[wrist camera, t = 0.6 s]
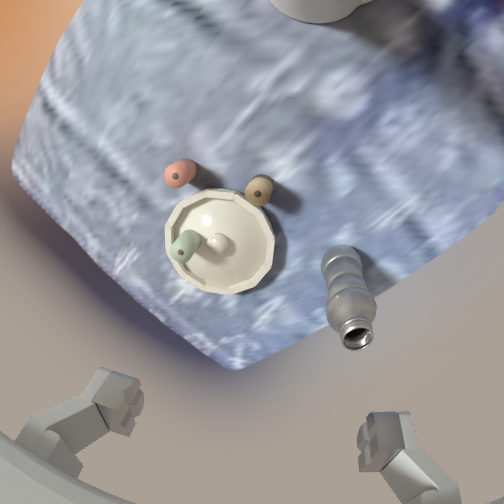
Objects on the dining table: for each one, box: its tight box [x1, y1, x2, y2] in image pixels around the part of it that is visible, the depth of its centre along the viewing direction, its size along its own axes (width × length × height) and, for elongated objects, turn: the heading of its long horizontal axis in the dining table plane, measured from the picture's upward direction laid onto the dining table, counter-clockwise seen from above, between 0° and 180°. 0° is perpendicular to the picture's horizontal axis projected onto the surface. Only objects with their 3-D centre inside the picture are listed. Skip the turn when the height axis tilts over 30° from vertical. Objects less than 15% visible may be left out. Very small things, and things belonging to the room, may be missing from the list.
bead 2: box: [170, 229, 201, 263], centre depth 48 cm, size 4×4×5 cm
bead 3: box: [245, 174, 273, 206], centre depth 44 cm, size 4×4×5 cm
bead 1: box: [164, 159, 198, 188], centre depth 44 cm, size 4×4×5 cm
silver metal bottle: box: [321, 245, 376, 351], centre depth 41 cm, size 6×7×20 cm
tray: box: [165, 188, 275, 295], centre depth 50 cm, size 18×18×2 cm
